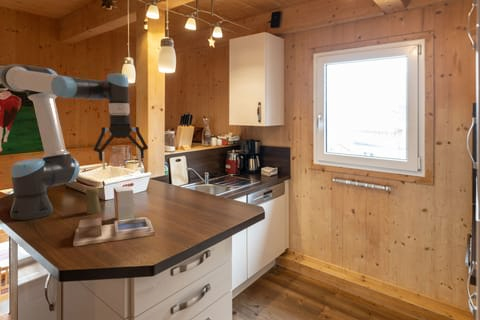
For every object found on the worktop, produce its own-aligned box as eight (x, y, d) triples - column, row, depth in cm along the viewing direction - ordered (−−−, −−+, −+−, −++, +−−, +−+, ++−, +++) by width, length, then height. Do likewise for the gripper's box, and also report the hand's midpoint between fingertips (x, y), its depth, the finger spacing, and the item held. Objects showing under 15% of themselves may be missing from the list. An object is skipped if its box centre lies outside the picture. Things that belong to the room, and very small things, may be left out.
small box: (114, 217, 130) (113, 187, 128) (130, 215, 134) (129, 185, 132) (118, 223, 123) (116, 191, 122) (134, 220, 127) (133, 189, 125)
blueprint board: (73, 246, 102) (72, 231, 101) (76, 231, 115) (75, 218, 114) (154, 234, 112) (154, 221, 111) (149, 222, 125) (149, 210, 124)
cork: (97, 209, 142) (95, 185, 140) (103, 211, 138) (102, 187, 136) (83, 212, 137) (82, 187, 135) (90, 215, 133) (88, 190, 132)
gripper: (83, 114, 114) (87, 171, 117) (153, 114, 124) (155, 167, 127) (85, 114, 121) (88, 168, 124) (151, 114, 131) (152, 164, 134)
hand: (122, 167), depth 125 cm, fingers open, 13 cm apart
